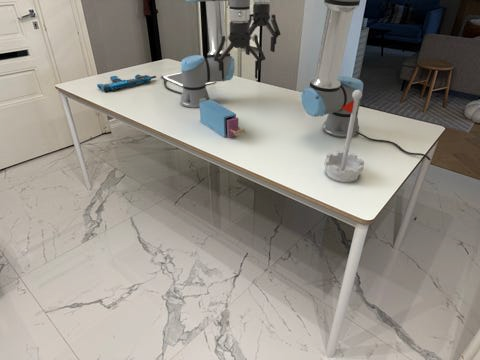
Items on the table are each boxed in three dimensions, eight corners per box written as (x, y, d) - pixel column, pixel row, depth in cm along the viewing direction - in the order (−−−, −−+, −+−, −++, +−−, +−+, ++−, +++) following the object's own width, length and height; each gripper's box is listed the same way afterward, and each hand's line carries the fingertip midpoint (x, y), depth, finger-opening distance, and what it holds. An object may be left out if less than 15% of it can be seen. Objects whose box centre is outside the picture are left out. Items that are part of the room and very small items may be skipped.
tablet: (160, 77, 217) (160, 76, 217) (187, 71, 229) (187, 71, 228) (188, 89, 197) (188, 88, 197) (215, 82, 208) (215, 81, 208)
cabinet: (236, 134, 147) (236, 113, 142) (224, 137, 144) (223, 117, 139) (211, 118, 162) (210, 99, 157) (200, 121, 159) (199, 102, 154)
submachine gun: (141, 69, 223) (160, 75, 207) (142, 74, 225) (161, 81, 209) (89, 79, 205) (105, 87, 188) (91, 85, 207) (107, 93, 190)
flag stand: (346, 161, 127) (361, 81, 110) (369, 179, 117) (390, 94, 100) (316, 168, 123) (327, 86, 106) (337, 186, 113) (353, 99, 96)
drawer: (245, 139, 141) (245, 122, 137) (235, 142, 139) (235, 125, 134) (214, 119, 158) (214, 104, 154) (205, 121, 156) (204, 106, 152)
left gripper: (205, 23, 122) (208, 81, 134) (274, 22, 124) (271, 80, 136) (206, 20, 129) (208, 76, 140) (271, 19, 130) (268, 74, 142)
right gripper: (281, 1, 158) (278, 48, 170) (232, 3, 149) (233, 54, 161) (289, 2, 153) (286, 51, 164) (240, 5, 144) (240, 57, 155)
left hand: (239, 78), depth 138 cm, fingers open, 13 cm apart
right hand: (260, 53), depth 163 cm, fingers open, 13 cm apart
